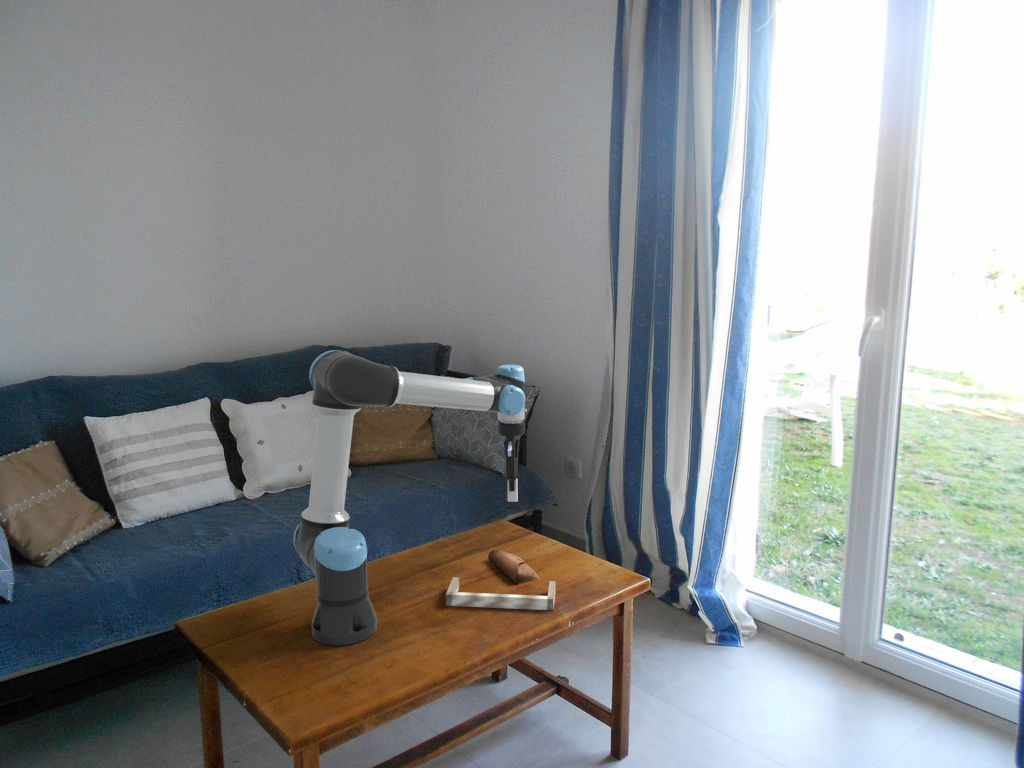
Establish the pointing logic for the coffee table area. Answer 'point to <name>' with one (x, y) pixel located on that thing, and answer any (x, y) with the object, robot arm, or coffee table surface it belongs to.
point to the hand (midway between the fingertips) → (512, 500)
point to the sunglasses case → (513, 566)
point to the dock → (499, 599)
